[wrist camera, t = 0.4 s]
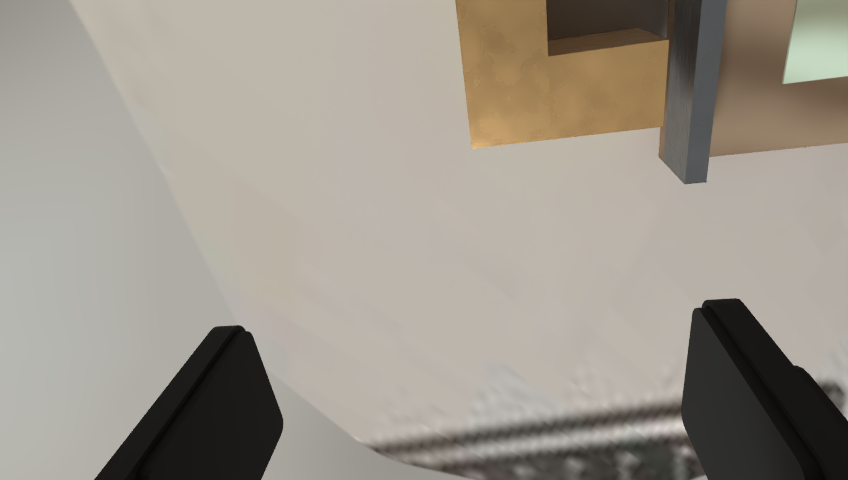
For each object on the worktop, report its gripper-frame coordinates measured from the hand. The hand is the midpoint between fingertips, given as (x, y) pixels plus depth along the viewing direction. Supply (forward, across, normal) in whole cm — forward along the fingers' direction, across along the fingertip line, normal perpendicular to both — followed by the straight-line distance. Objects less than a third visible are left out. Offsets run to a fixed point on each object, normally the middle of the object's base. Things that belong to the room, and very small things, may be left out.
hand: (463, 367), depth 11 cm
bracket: (+26, -5, -5) cm, 27 cm away
